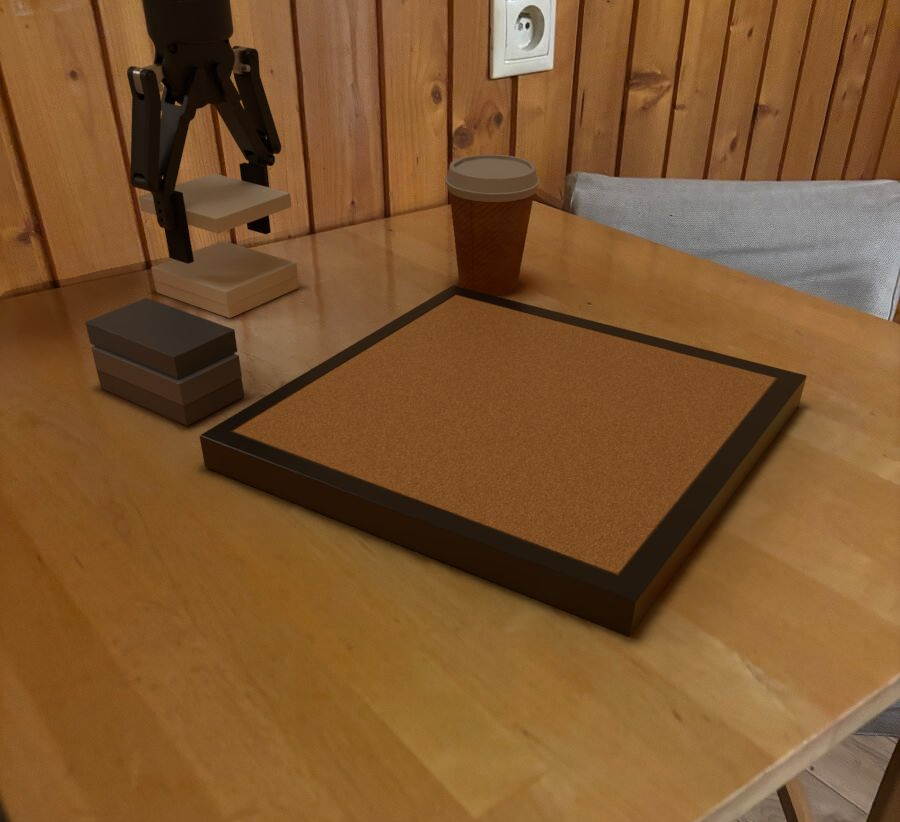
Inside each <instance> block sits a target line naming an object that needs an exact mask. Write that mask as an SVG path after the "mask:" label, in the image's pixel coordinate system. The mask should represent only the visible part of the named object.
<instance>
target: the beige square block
mask: <svg viewBox="0 0 900 822" xmlns="http://www.w3.org/2000/svg"><path fill="white" fill-rule="evenodd" d="M192 252H193V258H194V262H192V263H189V264H187V263H184V262H181V261H178V260H175V259H172V258H170V259H168V260H166V261H164V262H163V261H162V262H161V263H158V264H155V265H153V266H151V267H150V270H151V274H152V279H153V282H154V287H155V292H156V293H157V294H161V295H163V296H166V297H168V298H172V299H175V300H178V301H180V302H183V303H186V304H189V305H190V306H191V305H192V306H194V307H197V308H199V309H202V310H204V311H208V312H211V313H214V314H217V315H220V316H223V317H224V318H225V317H226V318H228V319H231V318H233V317H236V316H239V315H241V314H242V313H245V312H247V311H250V310H252V309H255V308H256V307H259V306H261V305H263V304H266V303H269V302H270V301H273V300H274V299H277V298H279V297H281V296H283V295H286V294H288V293H291V292H293V291H295V290H297V289H299V288H300V286H299V277H298V276H299V275H298V266H297V262H295V261H292V260H288V259H285V258H283V257H282V258H281V257H279V256H275V255H273V254H269V253H265V252H262V251H259V250H256V249H252V248H249V247H245V246H242V245H240V244H236V243H233V242H229V241H225V240H220V241H217V242H215V243H211V244H209V245H207V246H203V247H201V248H199V249H196V250H192Z"/></svg>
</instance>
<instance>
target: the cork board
mask: <svg viewBox="0 0 900 822" xmlns="http://www.w3.org/2000/svg"><path fill="white" fill-rule="evenodd" d="M807 377H808V375H806V374H803V373H798V372H795V371H791V370H788V369H783V368H780V367H776V366H771V365H768V364H764V363H760V362H755V361H752V360H748V359H743V358H740V357H736V356H731V355H728V354H725V353H720V352H716V351H713V350H708V349H705V348H702V347H697V346H692V345H689V344H685V343H681V342H677V341H673V340H670V339H665V338H662V337H657V336H654V335H650V334H645V333H642V332H638V331H634V330H630V329H626V328H622V327H619V326H615V325H611V324H607V323H602V322H599V321H595V320H591V319H586V318H583V317H579V316H575V315H571V314H567V313H564V312H559V311H556V310H551V309H547V308H543V307H540V306H536V305H532V304H528V303H524V302H521V301H517V300H512V299H508V298H504V297H500V296H498V295H489V294H485V293H481V292H477V291H473V290H469V289H466V288H462V287H460V286H457V285H450V286H449V287H447V288H446V289H444V290H442V291H441V292H439V293H437V294H435V295H434V296H432V297H430V298H429V299H427V300H425V301H423V302H422V303H420V304H419V305H417V306H415V307H413V308H412V309H410V310H408V311H406V312H405V313H403V314H402V315H400V316H399V317H397V318H395V319H393V320H392V321H390V322H388V323H386V324H385V325H383V326H381V327H379V328H378V329H376V330H375V331H373V332H372V333H369V334H368V335H366V336H365V337H363V338H361V339H359V340H357V341H356V342H355V343H353V344H351V345H349V346H348V347H345V349H343V350H341V351H340V352H338V353H336V354H334V355H332V356H331V357H330V358H327V359H326V360H324V361H322V362H320V363H319V364H317V365H315V366H314V367H312V368H311V369H309V370H307V371H306V372H304V373H302V374H301V375H298V376H297V377H296V378H293V379H292V380H291V381H289V382H287V383H285V384H284V385H282V386H280V387H279V388H276V390H273V391H272V392H270V393H269V394H267V395H265V396H263V397H262V398H260V399H258V400H256V402H254V403H251V404H250V405H249V406H247V407H245V408H243V409H241V410H240V411H238V412H236V413H235V414H233V415H232V416H230V417H228V418H227V419H225V420H223V421H222V422H220V423H218V424H216V425H215V426H213V427H211V428H210V429H208V430H206V431H204V432H202V433H201V434H200V435H199V440H200V448H201V452H202V459H203V464H204V468H206V469H207V470H211V471H214V472H216V473H219V474H221V475H224V476H226V477H228V478H231V479H233V480H235V481H238V482H240V483H244V484H246V485H248V486H251V487H253V488H256V489H258V490H261V491H264V492H266V493H268V494H272V495H274V496H275V497H278V498H281V499H283V500H287V501H288V502H291V503H293V504H296V505H298V506H301V507H304V508H306V509H309V510H311V511H313V512H315V513H319V514H321V515H324V516H326V517H329V518H332V519H333V520H336V521H338V522H341V523H344V524H347V525H349V526H352V527H355V528H357V529H359V530H361V531H363V532H367V533H369V534H371V535H373V536H377V537H379V538H382V539H384V540H387V541H388V542H392V543H394V544H397V545H398V546H401V547H404V548H406V549H409V550H412V551H414V552H417V553H419V554H422V555H424V556H427V557H429V558H432V559H434V560H437V561H439V562H442V563H444V564H447V565H449V566H451V567H453V568H454V567H455V568H457V569H459V570H462V571H463V572H466V573H469V574H472V575H474V576H477V577H479V578H482V579H484V580H487V581H489V582H492V583H494V584H497V585H499V586H502V587H504V588H507V589H509V590H512V591H515V592H517V593H519V594H522V595H525V596H526V597H529V598H532V599H534V600H536V601H539V602H541V603H545V604H546V605H549V606H552V607H554V608H557V609H560V610H562V611H565V612H567V613H570V614H572V615H573V616H577V617H580V618H581V619H584V620H587V621H590V622H592V623H595V624H598V625H600V626H602V627H605V628H608V629H610V630H613V631H615V632H617V633H619V634H622V635H625V636H627V637H631V635H632V634H633V633H634V631H635V630H636V628H638V626H639V624H640V623H641V621H643V619H644V617H645V616H646V615H647V614H648V612H649V611H650V609H651V608H652V606H653V605H654V604H655V602H656V601H657V600H658V598H659V597H660V596H661V594H662V593H663V592H664V590H665V589H666V587H668V585H669V583H670V582H671V580H672V579H673V578H674V577H675V575H676V574H677V573H678V571H679V570H680V568H681V567H682V565H684V563H685V562H686V560H687V559H688V557H689V556H690V555H691V553H692V552H693V550H694V549H695V548H696V546H697V545H698V544H699V542H700V541H701V540H702V538H704V535H705V534H706V533H707V531H708V530H709V528H711V526H712V525H713V523H714V522H715V520H716V519H717V518H718V516H719V515H720V514H721V512H722V511H723V509H724V508H725V507H726V505H727V504H728V503H729V501H730V500H731V499H732V497H733V496H734V494H735V493H736V492H737V490H738V489H739V487H740V486H741V485H742V484H743V482H744V481H745V480H746V478H747V477H748V476H749V474H750V472H751V471H752V470H753V468H754V467H755V466H756V464H757V463H758V462H759V461H760V459H761V458H762V456H763V455H764V453H765V452H766V451H767V450H768V449H769V447H770V445H771V444H772V442H774V440H775V438H776V437H777V436H778V434H779V433H780V431H781V430H782V429H783V428H784V427H785V425H786V423H787V422H788V421H789V419H790V418H791V417H792V416H793V414H794V413H795V411H796V410H797V408H798V407H799V406H800V403H801V399H802V395H803V392H804V388H805V385H806V380H807Z"/></svg>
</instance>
